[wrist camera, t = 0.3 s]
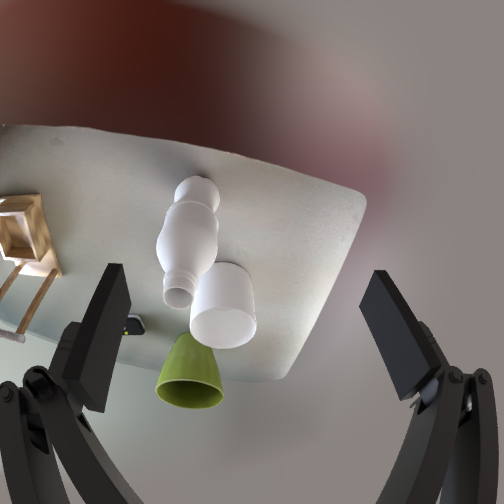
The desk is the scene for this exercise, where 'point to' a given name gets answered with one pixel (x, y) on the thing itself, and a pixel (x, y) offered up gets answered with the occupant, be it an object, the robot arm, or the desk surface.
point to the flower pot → (190, 376)
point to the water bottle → (188, 240)
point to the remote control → (134, 326)
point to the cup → (223, 307)
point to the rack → (26, 250)
